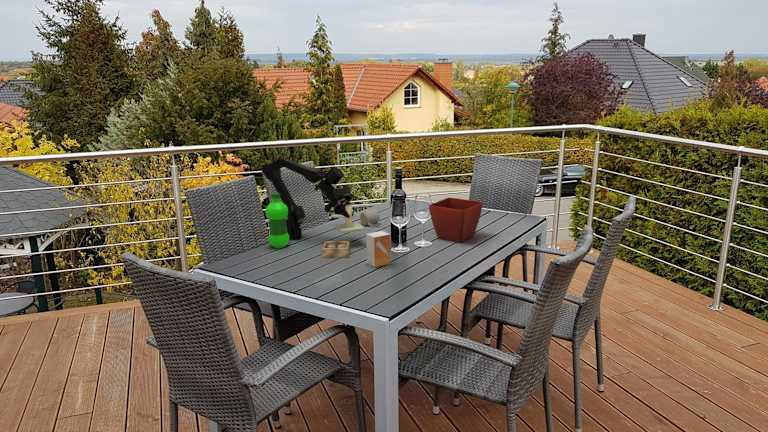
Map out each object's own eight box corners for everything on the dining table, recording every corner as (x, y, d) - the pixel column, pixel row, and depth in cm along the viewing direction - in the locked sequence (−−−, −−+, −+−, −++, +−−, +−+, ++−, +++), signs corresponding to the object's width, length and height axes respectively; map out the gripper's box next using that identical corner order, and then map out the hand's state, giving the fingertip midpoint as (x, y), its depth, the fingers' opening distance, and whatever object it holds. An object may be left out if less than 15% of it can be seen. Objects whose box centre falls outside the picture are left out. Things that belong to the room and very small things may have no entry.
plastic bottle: (263, 248, 252) (259, 195, 246) (278, 241, 261) (274, 190, 255) (281, 250, 248) (277, 197, 241) (295, 244, 257) (291, 192, 250)
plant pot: (463, 246, 248) (463, 210, 244) (427, 239, 260) (427, 204, 255) (483, 236, 263) (483, 201, 259) (448, 230, 274) (448, 197, 270)
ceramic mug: (359, 223, 289) (358, 209, 287) (372, 221, 294) (372, 207, 292) (369, 228, 281) (369, 214, 279) (383, 226, 285) (383, 211, 283)
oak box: (322, 257, 237) (322, 249, 236) (325, 249, 248) (325, 241, 247) (348, 257, 237) (347, 248, 236) (349, 249, 248) (349, 240, 247)
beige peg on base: (341, 234, 246) (340, 209, 243) (333, 227, 256) (332, 204, 253) (364, 231, 250) (364, 206, 247) (356, 224, 260) (356, 201, 257)
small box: (374, 267, 223) (373, 237, 220) (366, 263, 228) (365, 233, 225) (391, 263, 228) (390, 233, 224) (382, 259, 233) (382, 230, 229)
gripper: (329, 183, 241) (351, 210, 239) (349, 176, 257) (371, 201, 255) (314, 199, 246) (336, 226, 244) (336, 191, 263) (357, 216, 261)
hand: (351, 216), depth 251 cm, fingers closed on beige peg on base, 3 cm apart
